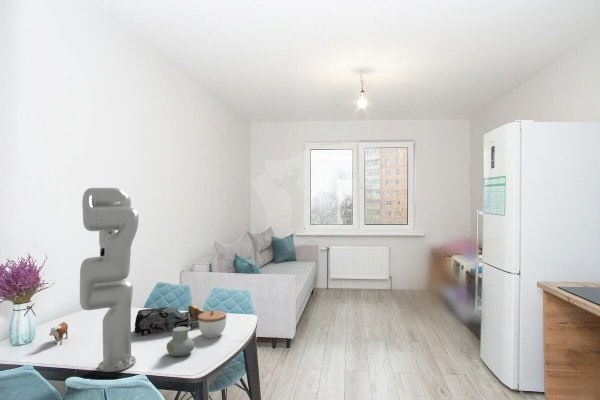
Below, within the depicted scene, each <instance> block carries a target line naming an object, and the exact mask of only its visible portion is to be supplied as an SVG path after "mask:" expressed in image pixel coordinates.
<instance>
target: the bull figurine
mask: <svg viewBox="0 0 600 400" xmlns="http://www.w3.org/2000/svg"><path fill="white" fill-rule="evenodd" d="M68 329H69V328H68V323H66V322H65V321H62V322H61V323H60V324H58V326H56V327H55V326H54V327H51V328H50V332H49V334H48V336H51V337H52V336H53V337H54V340H55V342H54V345H57V344H58V342H59V346H60V345H62V346H63V337H64V335H65V339H68V338H69V336H68Z"/></svg>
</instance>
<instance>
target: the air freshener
mask: <svg viewBox="0 0 600 400" xmlns="http://www.w3.org/2000/svg"><path fill="white" fill-rule="evenodd" d="M171 331H172V339H170V340H169V341H168V342H167V344H166V350H167V353H168V354H169V355H170V356H173V357H183V356H186V355H188V354H190V353H191V352H192V351H193V350H194V348H195V343H194V341H193V339H192V338H191V337H189V334H188V333H189V327H188V328H187V327H176V328H174V329H173V330H171Z"/></svg>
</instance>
